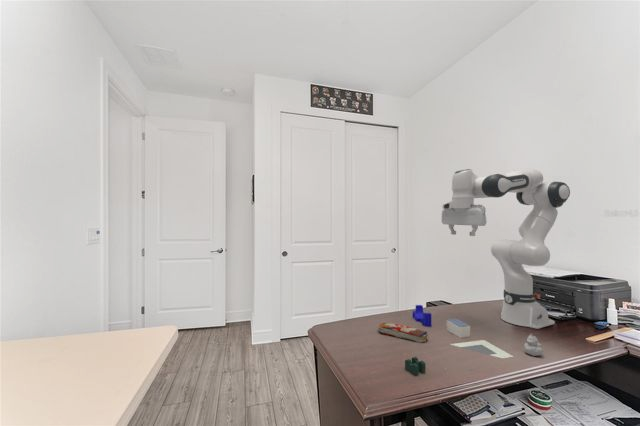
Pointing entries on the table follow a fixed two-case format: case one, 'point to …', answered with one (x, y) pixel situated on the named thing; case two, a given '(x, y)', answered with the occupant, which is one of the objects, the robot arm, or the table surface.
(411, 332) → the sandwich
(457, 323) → the card deck
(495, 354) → the mat
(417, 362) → the mount
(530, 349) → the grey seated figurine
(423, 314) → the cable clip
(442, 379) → the table surface
